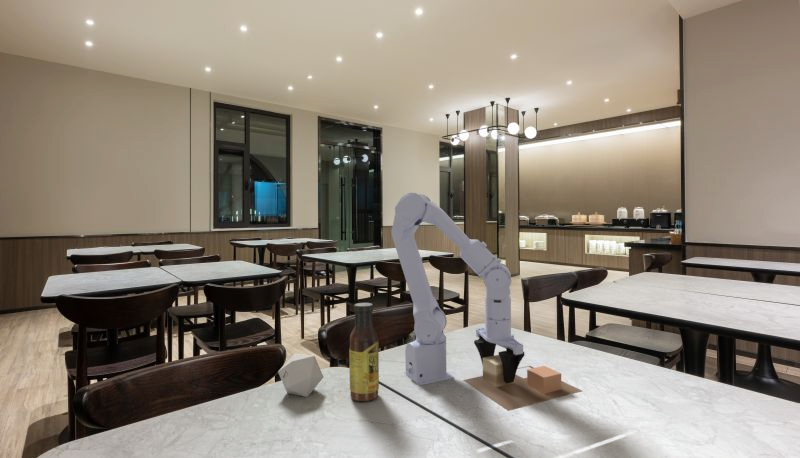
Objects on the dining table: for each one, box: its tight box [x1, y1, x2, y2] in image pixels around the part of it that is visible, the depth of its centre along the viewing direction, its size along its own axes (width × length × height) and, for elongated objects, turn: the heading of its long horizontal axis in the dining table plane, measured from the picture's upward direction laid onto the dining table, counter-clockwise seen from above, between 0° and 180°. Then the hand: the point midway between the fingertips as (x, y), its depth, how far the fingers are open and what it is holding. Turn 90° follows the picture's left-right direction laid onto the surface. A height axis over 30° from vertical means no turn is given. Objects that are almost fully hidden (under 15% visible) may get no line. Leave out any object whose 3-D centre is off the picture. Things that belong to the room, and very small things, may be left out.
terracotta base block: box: [527, 365, 562, 394], centre depth 88 cm, size 5×5×4 cm
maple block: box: [482, 354, 514, 387], centre depth 92 cm, size 5×5×5 cm
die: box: [277, 352, 324, 398], centre depth 88 cm, size 8×9×10 cm
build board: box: [462, 365, 583, 412], centre depth 89 cm, size 20×16×1 cm
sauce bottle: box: [348, 302, 380, 402], centre depth 85 cm, size 6×6×20 cm
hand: (498, 375), depth 92 cm, fingers open, 7 cm apart
